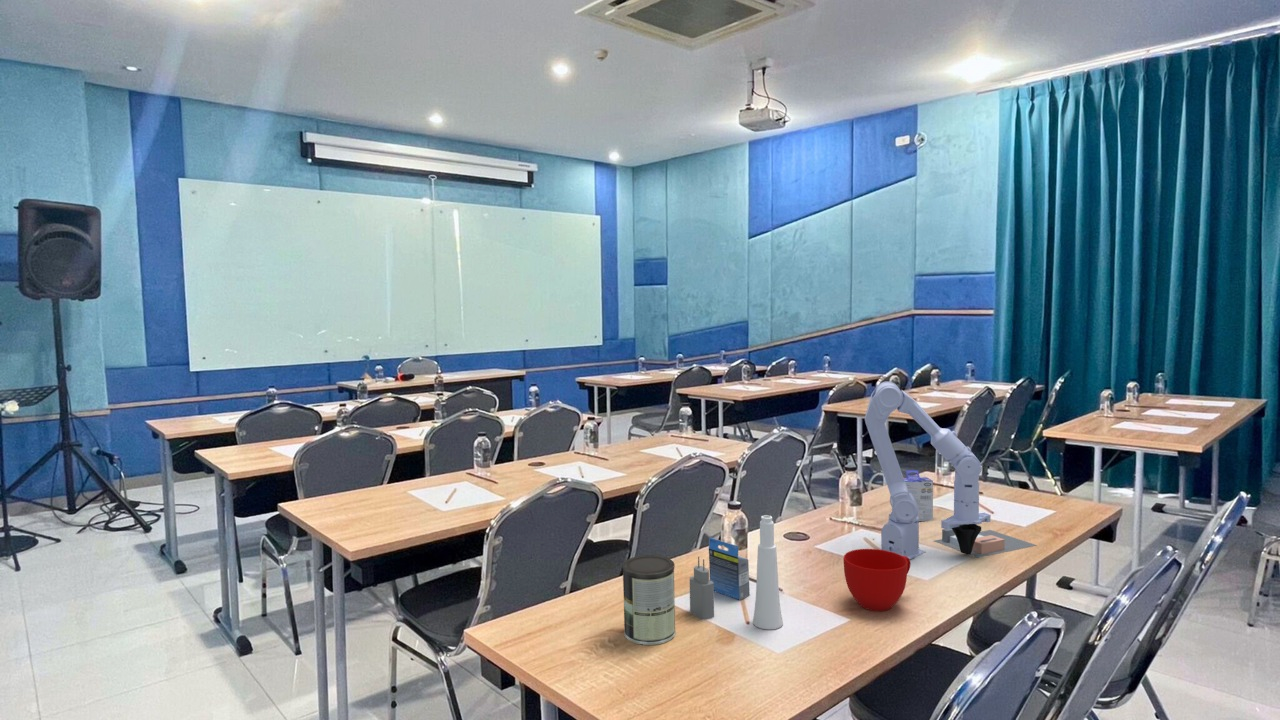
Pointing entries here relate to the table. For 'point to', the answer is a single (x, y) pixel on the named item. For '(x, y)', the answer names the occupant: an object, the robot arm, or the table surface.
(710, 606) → the power adapter
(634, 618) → the coffee can
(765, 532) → the cosmetic bottle
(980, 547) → the stub
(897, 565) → the ceramic cup
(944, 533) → the grey stepped housing
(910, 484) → the ink cartridge box
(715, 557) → the label tape box
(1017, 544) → the desk mat
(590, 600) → the table surface
